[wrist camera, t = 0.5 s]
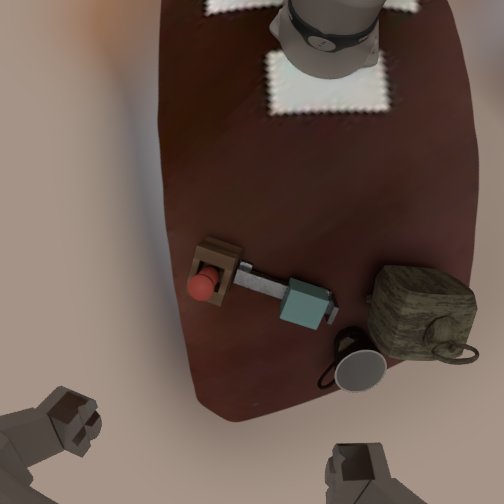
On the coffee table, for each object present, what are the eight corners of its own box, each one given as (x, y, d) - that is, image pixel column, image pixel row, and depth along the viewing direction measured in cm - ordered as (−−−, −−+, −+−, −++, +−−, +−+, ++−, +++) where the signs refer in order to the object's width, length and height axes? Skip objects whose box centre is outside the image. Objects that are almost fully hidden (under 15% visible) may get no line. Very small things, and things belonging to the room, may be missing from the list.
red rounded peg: (202, 260, 46) (190, 271, 40) (224, 268, 46) (216, 281, 40) (196, 281, 47) (184, 295, 41) (218, 289, 47) (209, 304, 41)
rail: (241, 259, 52) (236, 270, 46) (335, 291, 51) (340, 305, 45) (234, 281, 53) (228, 293, 47) (326, 311, 52) (330, 327, 47)
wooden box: (208, 236, 51) (197, 245, 45) (242, 247, 51) (235, 259, 44) (196, 278, 53) (184, 293, 47) (228, 290, 53) (220, 306, 47)
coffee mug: (371, 316, 52) (386, 344, 42) (374, 354, 53) (386, 385, 44) (308, 329, 54) (312, 360, 44) (315, 367, 55) (319, 400, 46)
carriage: (291, 276, 50) (291, 289, 44) (324, 287, 50) (329, 301, 44) (280, 303, 51) (279, 318, 46) (313, 313, 51) (316, 329, 45)
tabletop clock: (356, 305, 51) (397, 396, 27) (365, 255, 49) (423, 323, 25) (426, 308, 50) (492, 386, 26) (437, 262, 48) (519, 321, 24)
